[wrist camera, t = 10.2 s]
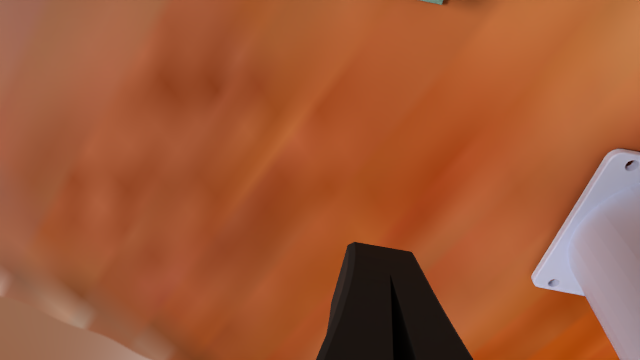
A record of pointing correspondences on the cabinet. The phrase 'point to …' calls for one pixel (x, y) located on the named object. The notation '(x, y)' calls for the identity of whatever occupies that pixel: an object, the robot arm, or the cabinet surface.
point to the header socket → (434, 1)
